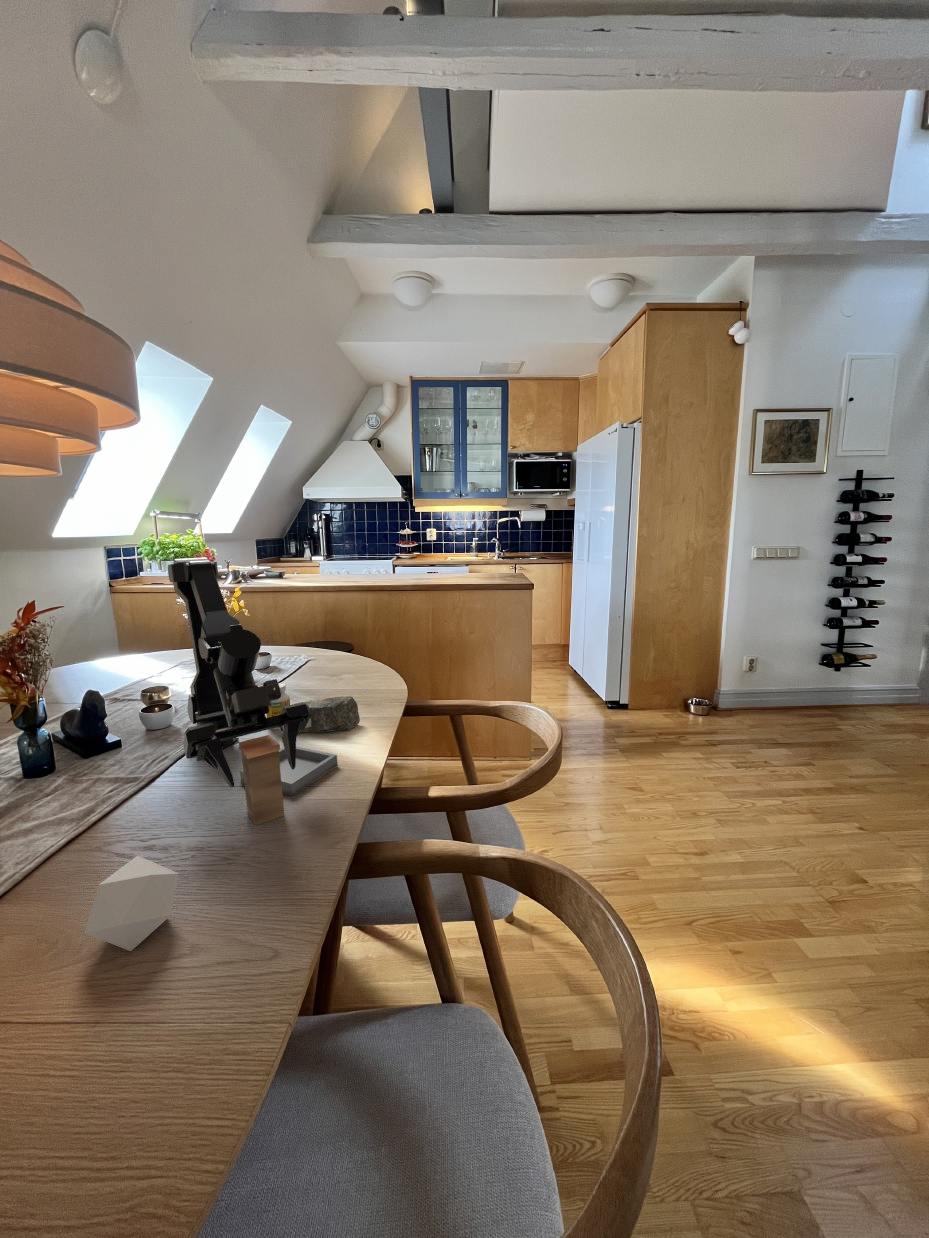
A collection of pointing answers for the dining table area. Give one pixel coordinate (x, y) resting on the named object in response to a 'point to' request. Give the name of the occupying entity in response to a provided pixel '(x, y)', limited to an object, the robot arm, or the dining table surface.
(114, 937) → the die
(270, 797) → the brown block
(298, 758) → the tray
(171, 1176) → the dining table surface
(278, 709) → the supplement bottle
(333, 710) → the stone
